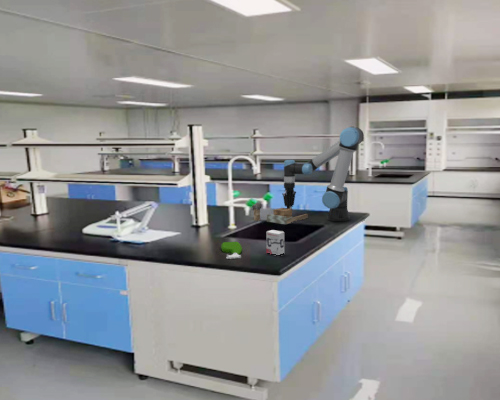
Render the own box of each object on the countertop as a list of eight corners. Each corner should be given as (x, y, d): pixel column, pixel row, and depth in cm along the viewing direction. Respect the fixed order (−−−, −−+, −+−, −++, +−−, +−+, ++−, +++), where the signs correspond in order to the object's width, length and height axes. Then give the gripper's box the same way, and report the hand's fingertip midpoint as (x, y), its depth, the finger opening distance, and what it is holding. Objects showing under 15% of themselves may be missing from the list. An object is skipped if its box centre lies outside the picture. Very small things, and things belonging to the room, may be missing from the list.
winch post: (261, 220, 316) (261, 200, 314) (257, 221, 313) (257, 201, 311) (255, 219, 321) (254, 199, 318) (250, 220, 317) (250, 200, 315)
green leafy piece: (240, 246, 249) (245, 260, 225) (220, 247, 248) (223, 261, 224) (240, 241, 249) (245, 254, 225) (220, 242, 247) (223, 255, 223)
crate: (292, 220, 313) (292, 209, 312) (284, 223, 306) (284, 211, 305) (281, 219, 319) (281, 207, 318) (273, 221, 312) (273, 209, 311)
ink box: (265, 253, 233) (265, 231, 232) (272, 251, 237) (271, 229, 235) (278, 256, 228) (278, 233, 226) (285, 254, 231) (284, 231, 229)
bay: (307, 218, 321) (307, 211, 320) (285, 224, 302) (285, 217, 301) (289, 215, 331) (289, 208, 330) (266, 221, 312) (266, 214, 311)
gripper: (290, 181, 321) (290, 213, 325) (279, 182, 312) (279, 216, 316) (299, 181, 316) (299, 215, 320) (287, 183, 307) (287, 217, 311)
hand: (289, 215), depth 318 cm, fingers closed
